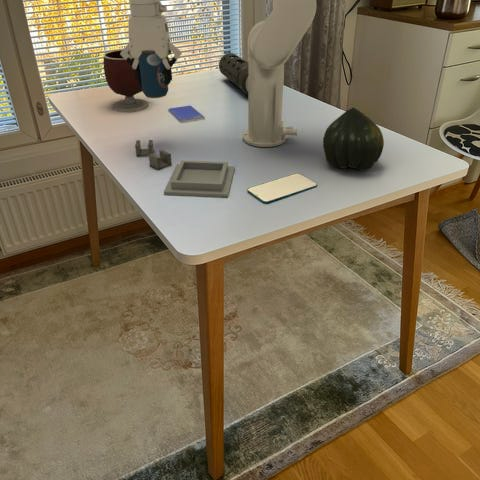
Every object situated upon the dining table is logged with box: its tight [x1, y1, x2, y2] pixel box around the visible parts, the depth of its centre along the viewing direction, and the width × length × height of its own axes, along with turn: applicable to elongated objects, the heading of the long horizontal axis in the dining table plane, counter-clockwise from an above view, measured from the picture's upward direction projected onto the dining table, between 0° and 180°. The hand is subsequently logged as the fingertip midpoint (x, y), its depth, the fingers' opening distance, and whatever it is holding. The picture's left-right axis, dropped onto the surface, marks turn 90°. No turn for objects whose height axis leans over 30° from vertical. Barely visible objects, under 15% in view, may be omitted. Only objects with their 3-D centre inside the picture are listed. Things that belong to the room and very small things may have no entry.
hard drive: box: [167, 105, 206, 124], centre depth 157 cm, size 2×8×12 cm
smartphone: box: [246, 173, 318, 205], centre depth 115 cm, size 8×1×16 cm
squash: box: [322, 106, 385, 171], centre depth 123 cm, size 14×15×15 cm
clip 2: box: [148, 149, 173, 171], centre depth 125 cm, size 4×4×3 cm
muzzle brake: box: [218, 52, 249, 96], centre depth 178 cm, size 10×28×10 cm, turn 21°
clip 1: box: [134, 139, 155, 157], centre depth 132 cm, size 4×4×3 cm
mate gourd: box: [102, 49, 150, 113], centre depth 160 cm, size 16×14×20 cm
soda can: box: [138, 51, 169, 99], centre depth 128 cm, size 7×7×12 cm
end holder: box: [163, 160, 236, 198], centre depth 118 cm, size 15×15×3 cm
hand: (154, 82), depth 129 cm, fingers closed on soda can, 6 cm apart
